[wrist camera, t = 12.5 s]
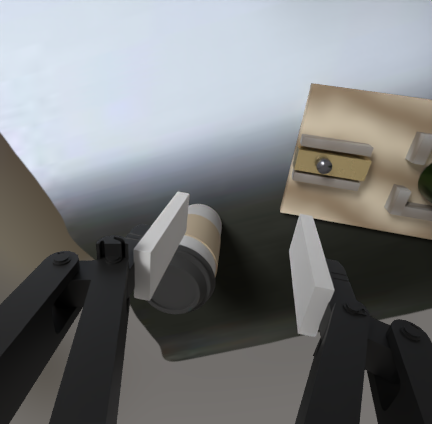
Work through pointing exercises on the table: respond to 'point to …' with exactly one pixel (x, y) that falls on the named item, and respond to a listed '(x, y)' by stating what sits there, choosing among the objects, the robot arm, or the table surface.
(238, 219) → the table surface
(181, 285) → the coffee cup
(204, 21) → the table surface
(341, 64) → the table surface
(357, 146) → the dock
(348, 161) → the bar
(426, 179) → the beer can
